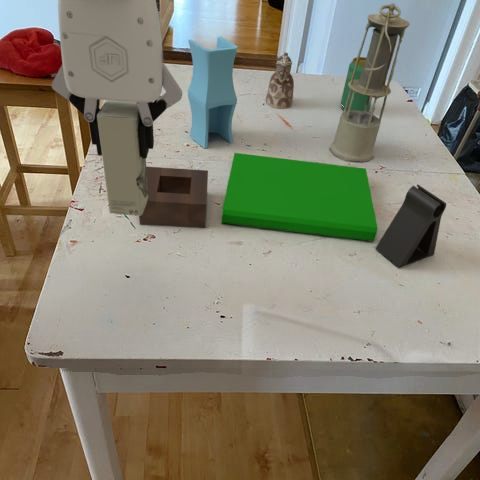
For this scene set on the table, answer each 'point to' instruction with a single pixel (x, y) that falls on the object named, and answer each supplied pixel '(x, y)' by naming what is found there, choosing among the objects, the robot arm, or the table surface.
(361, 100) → the beverage can
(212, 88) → the vase
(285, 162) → the book
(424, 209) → the phone stand
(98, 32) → the robot arm
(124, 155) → the box
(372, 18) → the lamp
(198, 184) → the brown frame
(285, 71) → the figurine
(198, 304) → the table surface
